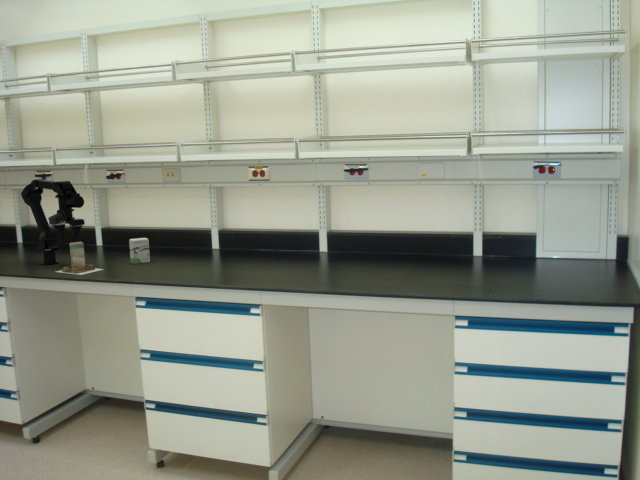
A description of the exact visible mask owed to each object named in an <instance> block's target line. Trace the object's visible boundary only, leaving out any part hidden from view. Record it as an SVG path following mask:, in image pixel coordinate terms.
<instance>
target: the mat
mask: <svg viewBox="0 0 640 480" xmlns="http://www.w3.org/2000/svg"><path fill="white" fill-rule="evenodd" d="M103 270H105V268H104V269H103V268H96V267H95V270H91V271H86V272H82V273H78V274H75V273H67V272H62V269H61V270H60V269H59V270H56V271H54V272H55V273H60V274H61V273H63V274H71V275H79V276H82V275H87V274H91V273H96V272H99V271H103Z"/></svg>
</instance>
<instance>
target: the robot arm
mask: <svg viewBox="0 0 640 480" xmlns="http://www.w3.org/2000/svg"><path fill="white" fill-rule="evenodd" d="M45 189H46V190H51V191H53V192H54V193H56V195H55V196H54V198H56V199H57V202H58V209H57V210H56V213H55V214H52V215H51V216H49V217H48V219H47V217H46V213H45V212H44V209H43V206H42V204H41V203H42V199H43V198H42V195H43V193H44V190H45ZM20 193H21V194H20V196H21V198H22V200H23V202H24V203H25V204H26V205H27V206H29V208H30V210H31V213H32V216H33V218H34V220H35V223H36V225H37V228H38V231H39V238H38V240H39V244H38V245H37V247H36V251H37V253H40V254H41V258H42V259H41V261H42V262H40V263H39V265H46V266H48V265H54V264H59V263H60V261H58V260H57V255H56V251H59V249H60V244H61V242H60V241H61V240H63V239H64V237H65V232H66V231H65V229H66V224H67V225H69V226H68V228H70V229H71V235H72V239H73V241H76V240H77V238H78V236H79V234H80V231H81V229H82V227H84V225H85V223H86V222H85V219H83V218H75V216H74V215H73V212H75V209H78V208H79V209H81V208H83V207H84V204H85V199H84V197H82V196H81V194H80V193H78V192H77V190H76V189H75V187H74V186H73V183H72V182H71V181H70V180H62V181H59V180H58V181H54V180H53V181H52V180H47V179H42V178H39V179H38V178H37V179H35V178H34V179H33V180H31V182H30V183H28V184H27V185H26V186H25V187H24V188H23V189H22V191H21V192H20ZM74 208H75V209H74ZM50 226H51V227H53V228H54V229H55V230H56V231H52V230H51V227H50ZM60 239H61V240H60Z"/></svg>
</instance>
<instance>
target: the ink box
mask: <svg viewBox="0 0 640 480" xmlns="http://www.w3.org/2000/svg"><path fill="white" fill-rule="evenodd" d="M128 244H129V259H130V260H129V261H130V264H133V265H135V264H136V265H137V264H144V263H145V264H146V263H150V262H151V257H150V255H151V254H150V240H149V238H148V237H138V238H130V239H129V240H128Z"/></svg>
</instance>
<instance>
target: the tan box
mask: <svg viewBox="0 0 640 480" xmlns="http://www.w3.org/2000/svg"><path fill="white" fill-rule="evenodd" d="M69 251H70V252H69V253H70V263H71V264H70V266H72V268H75V269H78V268H82V267H85V264H86V259H85V258H86V257H85V246H84V242H82V241H77V242H76V241H75V242H69Z"/></svg>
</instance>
